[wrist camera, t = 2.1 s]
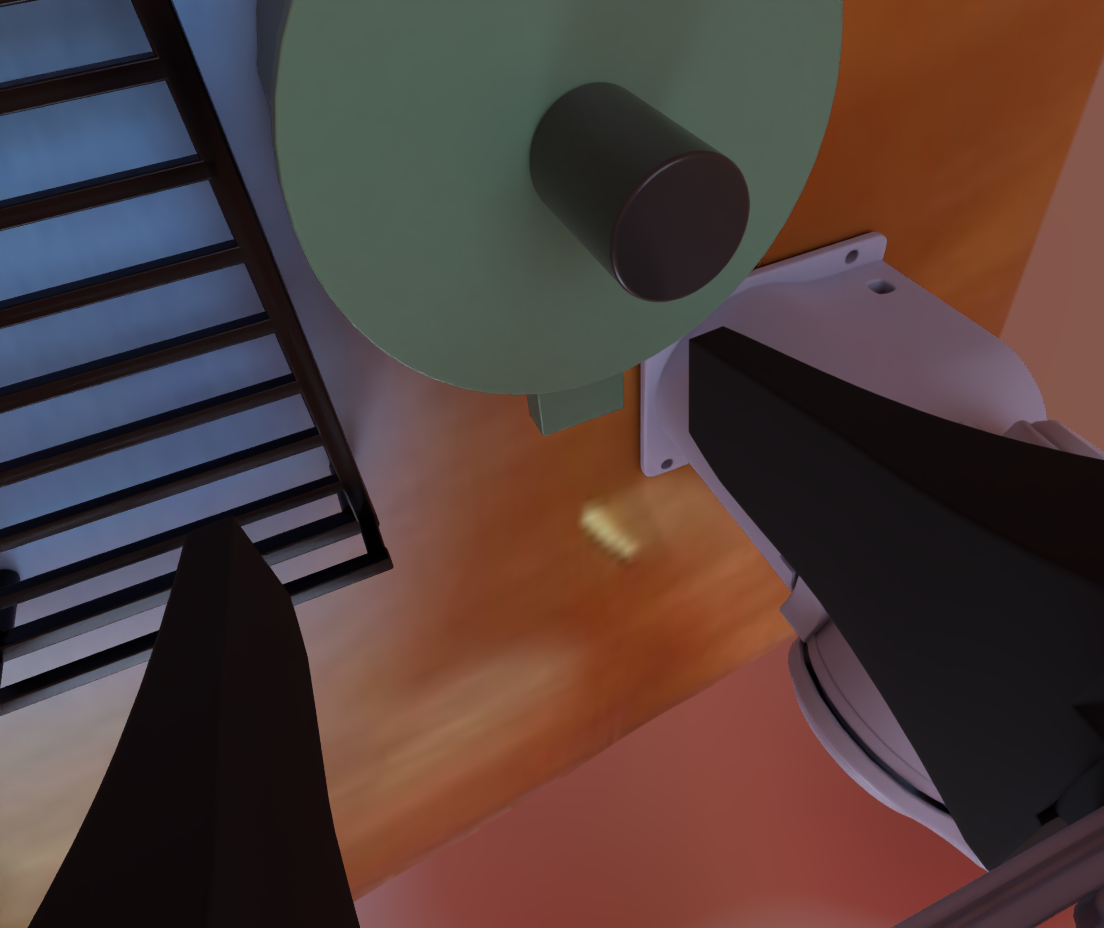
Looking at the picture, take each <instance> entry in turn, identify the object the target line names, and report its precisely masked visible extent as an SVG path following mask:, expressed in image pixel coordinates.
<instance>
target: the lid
mask: <svg viewBox="0 0 1104 928" xmlns="http://www.w3.org/2000/svg"><path fill="white" fill-rule="evenodd" d="M842 19H843V4H842V0H286V1H285V5H284V9H283V12H282V16H281V20H280V24H279V28H278V32H277V37H276V46H275V54H274V63H273V72H272V80H271V128H272V140H273V147H274V154H275V161H276V167H277V174H278V180H279V184H280V187H281V190H282V194H283V197H284V201H285V204H286V208H287V211H288V215H289V218H290V221H291V224H292V227H293V230H294V232H295V234H296V236H297V239H298V241H299V243H300V245H301V248H302V250H303V252H304V254H305V257H306V259H307V261H308V263H309V266H310V268H311V269H312V271H313V272H314V274H315V276H316V277H317V279H318V280H319V282H320V284H321V285H322V287H323V288H324V290H325V292H326V293H327V295H328V296H329V298H330V299H331V300H332V302H333V303H334V304H335V305H336V306H337V308H338V309H339V310H340V311H341V312H342V314H343V315H344V316H345V317H346V318H347V319H348V321H349V322H350V323H351V324H352V325H353V326H354V327H355V328H356V329H357V330H358V331H359V332H360V333H362V334H363V335H364V336H365V337H366V338H367V339H368V340H369V341H371V342H372V343H373V344H374V345H375V346H376V347H377V348H379V349H380V350H382V351H383V352H385V353H386V354H388V355H389V356H391V357H392V358H394V359H395V360H397V361H398V362H400V363H401V364H403V365H405V366H407V367H409V368H411V369H413V370H415V371H417V372H419V373H421V374H423V375H425V376H427V377H429V378H431V379H434V380H437V381H440V382H443V383H446V384H449V385H453V386H456V387H459V388H463V389H469V390H474V391H479V392H484V393H494V394H510V395H523V394H541V393H549V392H555V391H561V390H567V389H573V388H576V387H580V386H583V385H587V384H590V383H594V382H597V381H601V380H603V379H606V378H608V377H611V376H613V375H616V374H618V373H621V372H623V371H626V370H628V369H630V368H632V367H634V366H636V365H638V364H640V363H642V362H643V361H645V360H647V359H649V358H651V357H653V356H655V355H656V354H658V353H659V352H661V351H663V350H664V349H666V348H667V347H669V346H670V345H672V344H673V343H675V342H677V341H678V340H680V339H681V338H682V337H683V336H685V335H686V334H687V333H689V332H690V331H691V330H692V329H694V328H695V327H696V326H698V325H699V324H700V323H701V322H703V321H704V320H705V319H706V318H707V317H708V316H709V315H710V314H711V313H713V312H714V311H715V310H716V309H717V308H718V307H719V306H720V305H721V304H722V303H723V302H724V301H726V299H727V298H728V297H729V296H730V295H731V294H732V293H733V292H734V291H735V290H736V289H737V287H738V286H739V285H740V284H741V283H742V282H743V281H744V280H745V279H746V278H747V276H748V275H749V274H750V273H751V271H752V270H753V269H754V267H755V266H756V265H757V263H758V262H759V261H760V260H761V258H762V257H763V256H764V254H765V253H766V252H767V251H768V249H769V247H770V246H771V244H772V243H773V241H774V240H775V238H776V237H777V235H778V233H779V232H780V230H781V229H782V227H783V226H784V224H785V223H786V221H787V219H788V217H789V215H790V213H791V212H792V210H793V208H794V206H795V204H796V202H797V200H798V198H799V197H800V195H801V193H802V191H803V189H804V186H805V184H806V182H807V179H808V177H809V175H810V172H811V170H812V168H813V165H814V163H815V160H816V158H817V155H818V152H819V149H820V146H821V143H822V140H823V137H824V134H825V131H826V128H827V125H828V121H829V117H830V112H831V108H832V104H833V99H834V95H835V91H836V86H837V79H838V71H839V64H840V56H841V49H842Z"/></svg>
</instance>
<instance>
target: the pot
mask: <svg viewBox="0 0 1104 928" xmlns="http://www.w3.org/2000/svg"><path fill="white" fill-rule="evenodd" d="M285 1H286V0H257V8H256V15H257V47H258V50H257V67H258V73H259V76H260V79H261V82H262V85H263V88H264V91H265V93H266V96H267V99H268V102H269V105H270V109H271V80H272V72H273V63H274V54H275V46H276V37H277V32H278V28H279V24H280V20H281V16H282V12H283V9H284V5H285ZM527 399H528V406H529V413H530V416H531V417H532V419H533V421H534V422H535V424H536V425H537V427H538V429H539V430H540V432H541V434H542V435H543V436H546V435H548V434H551V433H554V432H557V431H560V430H563V429H565V428H568V427H571V426H574V425H577V424H580V423H582V422H585V421H588V420H591V419H594V418H597V417H599V416H602V415H605V414H608V413H611V412H614V411H617V410H619V409H622V408H624V385H623V372H621V373H618V374H616V375H613V376H611V377H608V378H606V379H603V380H601V381H597V382H594V383H590V384H587V385H583V386H580V387H576V388H573V389H567V390H561V391H555V392H549V393H541V394H527Z"/></svg>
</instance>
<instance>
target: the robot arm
mask: <svg viewBox="0 0 1104 928" xmlns="http://www.w3.org/2000/svg"><path fill="white" fill-rule="evenodd" d="M886 244H887V239H886V237H885V236H884V235H882V234H880V233H879V232H877V231H874V232H870V233H867V234H864V235H860V236H857V237H854V238H851V239H848V240H845V241H842V242H839V243H836V244H832V245H829V246H826V247H823V248H820V249H817V250H814V251H811V252H807V253H804V254H801V255H798V256H795V257H792V258H789V259H786V260H783V261H779V262H776V263H773V264H770V265H767V266H764V267H761V268H758V269H755V270H752V271H751V273H750V274H749V275H748V276H747V278H746V279H745V280H744V281H743V282H742V283H741V284H740V285H739V286H738V287H737V289H736V290H735V291H734V292H733V293H732V294H731V295H730V296H729V297H728V298H727V299H726V301H724V302H723V303H722V304H721V305H720V306H719V307H718V308H717V309H716V310H715V311H714V312H713V313H711V314H710V315H709V316H708V317H707V318H706V319H705V320H704V321H703V322H701V323H700V324H699V325H698V326H696V327H695V328H694V329H692V330H691V331H690V332H689V333H687V334H686V335H685V336H683V337H682V338H681V339H680V340H678V341H677V342H675V343H673V344H672V345H670V346H669V347H667V348H666V349H664V350H663V351H661V352H659V353H658V354H656V355H655V356H653V357H651V358H649V359H647V360H645V361H643V362H642V363H641V418H640V467H641V470H642V471H643V473H644V474H645V475H646V476H647V477H654V476H657V475H660V474H662V473H665V472H668V471H670V470H673V469H676V468H678V467H681V466H684V465H686V464H689V463H690V465H691V466H692V467H693V468H694V470H695V471H696V472H697V473H698V475H699V476H700V477H701V478H702V480H703V481H704V482H705V483H706V485H707V486H708V487H709V488H710V490H711V491H712V492H713V494H714V495H715V496H716V497H717V499H718V500H719V501H720V502H721V504H722V505H723V506H724V507H725V509H726V510H727V511H728V512H729V514H730V515H731V516H732V517H733V519H734V520H735V521H736V522H737V524H738V525H739V526H740V528H741V529H742V530H743V531H744V533H745V534H746V535H747V536H748V538H749V539H750V540H751V541H752V543H753V544H754V545H755V546H756V548H757V549H758V550H759V551H760V553H761V554H762V555H763V556H764V558H765V559H766V560H767V562H768V563H769V564H770V565H771V567H772V568H773V569H774V570H775V572H776V573H777V574H778V575H779V577H780V578H781V579H782V580H783V582H784V583H785V584H786V585H787V587H788V588H789V589H790V590H791V592H792V593H791V595H790V596H789V597H788V599H787V600H786V601H785V602H784V603H783V605H782V606H781V607H780V610H779V611H780V612H781V613H782V615H783V616H784V617H785V619H786V620H787V621H788V623H789V624H790V625H791V627H792V628H793V629H794V631H795V632H796V633H797V634H798V636H799V637H798V638H797V639H796V640H795V641H794V642H793V643H792V645H791V647H790V650H789V654H788V664H789V670H790V675H791V679H792V682H793V686H794V691H795V695H796V698H797V701H798V704H799V706H800V708H801V711H802V713H803V715H804V717H805V718H806V720H807V722H808V724H809V725H810V727H811V729H812V730H813V732H814V734H815V735H816V736H817V738H818V739H819V741H820V742H821V743H822V745H823V746H824V748H825V749H826V750H827V751H828V753H829V754H830V755H831V756H832V757H833V758H834V760H835V761H836V762H837V763H838V764H839V765H840V766H841V768H842V769H843V770H844V771H845V772H846V773H847V774H848V775H849V776H850V777H851V778H852V779H853V780H855V781H856V782H857V783H858V784H859V785H860V786H861V787H862V788H864V789H865V790H866V791H867V792H868V793H870V794H871V795H872V796H873V797H875V798H876V799H877V800H879V801H880V802H882V803H883V804H885V805H886V806H888V807H890V808H891V809H893V810H895V811H897V812H899V813H901V814H903V815H905V816H908V817H910V818H912V819H914V820H916V821H918V822H919V823H921V824H923V825H925V826H926V827H928V828H929V829H931V830H932V831H934V832H935V833H937V834H938V835H940V836H941V837H943V838H944V839H945V840H947V841H948V842H949V843H951V844H952V845H953V846H955V847H956V848H957V849H959V850H960V851H961V852H962V853H964V854H965V855H966V856H967V857H968V858H970V859H971V860H972V861H973V862H974V863H976V864H977V865H978V866H980V867H981V868H984V869H985V870H986V871H987V872H988V873H986V874H984V875H982V876H981V877H979V878H977V879H975V880H974V881H972V882H970V883H968V884H967V885H965V886H963V887H961V888H960V889H958V890H956V891H954V892H953V893H951V894H949V895H947V896H946V897H944V898H942V899H941V900H939V901H937V902H935V903H934V904H932V905H930V906H929V907H927V908H925V909H923V910H921V911H920V912H918V913H916V914H914V915H913V916H911V917H909V918H907V919H906V920H904V921H902V922H900V923H899V924H897V925H895V926H893V927H892V928H1035V927H1037V926H1039V925H1040V924H1042V923H1044V922H1045V921H1047V920H1049V919H1050V918H1052V917H1054V916H1055V915H1057V914H1058V913H1060V912H1062V911H1063V910H1065V909H1067V908H1068V907H1070V906H1072V905H1074V904H1075V903H1077V902H1078V903H1077V905H1075V908H1074V915H1073V916H1074V921H1075V924H1076V928H1104V452H1103V451H1102V450H1100V449H1099V448H1097V447H1096V446H1094V445H1093V444H1091V443H1090V442H1088V441H1087V440H1086V439H1084V438H1083V437H1081V436H1080V435H1078V434H1076V433H1075V432H1074V431H1072V430H1070V429H1069V428H1068V427H1066V426H1064V425H1063V424H1061V423H1060V422H1058V421H1056V420H1048V421H1047V416H1046V410H1045V404H1044V401H1043V398H1042V395H1041V393H1040V390H1039V388H1038V386H1037V384H1036V382H1035V380H1034V378H1033V376H1032V375H1031V373H1030V371H1029V370H1028V368H1027V367H1026V365H1025V364H1024V363H1023V362H1022V360H1021V359H1020V358H1019V356H1018V355H1017V354H1016V353H1015V352H1014V351H1013V350H1012V349H1011V348H1010V347H1009V346H1007V345H1006V344H1005V343H1004V342H1002V341H1001V340H1000V339H998V338H997V337H996V336H994V335H993V334H991V333H990V332H988V331H987V330H985V329H984V328H982V327H981V326H979V325H978V324H976V323H975V322H973V321H972V320H970V319H969V318H967V317H966V316H964V315H963V314H961V313H960V312H958V311H957V310H955V309H954V308H952V307H951V306H949V305H948V304H947V303H945V302H944V301H942V300H941V299H939V298H938V297H936V296H935V295H933V294H932V293H930V292H929V291H927V290H926V289H924V288H923V287H921V286H920V285H918V284H917V283H915V282H914V281H912V280H911V279H909V278H908V277H906V276H905V275H903V274H902V273H900V272H899V271H897V270H896V269H894V268H893V267H891V266H890V265H888V264H887V263H885V262H884V261H882V260H883V256H884V252H885V248H886ZM28 928H360V925H359V922H358V918H357V915H356V911H355V907H354V903H353V900H352V896H351V892H350V888H349V884H348V881H347V877H346V873H345V869H344V865H343V861H342V857H341V853H340V849H339V845H338V841H337V837H336V833H335V829H334V824H333V819H332V814H331V809H330V803H329V798H328V791H327V784H326V777H325V770H324V764H323V757H322V750H321V743H320V736H319V729H318V722H317V715H316V708H315V702H314V695H313V688H312V682H311V675H310V669H309V662H308V656H307V653H306V649H305V645H304V642H303V638H302V634H301V631H300V627H299V624H298V620H297V617H296V613H295V610H294V607H293V603H292V600H291V596H290V594H289V593H288V592H287V590H286V589H285V587H284V586H283V585H282V583H281V582H280V581H279V579H278V578H277V576H276V575H275V574H274V572H273V571H272V569H271V568H270V567H269V565H268V564H267V562H266V561H265V560H264V558H263V557H262V556H261V554H260V553H259V551H258V550H257V549H256V547H255V546H254V544H253V543H252V542H251V540H250V539H249V537H248V536H247V535H246V533H245V532H244V531H243V529H242V528H241V526H240V525H239V524H238V522H237V521H236V519H235V518H234V517H233V515H231V516H229V517H226V518H224V519H221V520H218V521H216V522H213V523H211V524H208V525H205V526H203V527H200V528H198V529H195V530H192V531H190V532H189V533H188V535H187V537H186V539H185V541H184V545H183V548H182V552H181V556H180V560H179V563H178V567H177V571H176V574H175V578H174V582H173V585H172V589H171V592H170V596H169V599H168V602H167V606H166V609H165V612H164V616H163V619H162V623H161V626H160V629H159V632H158V635H157V638H156V641H155V644H154V647H153V650H152V653H151V656H150V659H149V662H148V665H147V668H146V671H145V674H144V677H143V680H142V683H141V686H140V689H139V691H138V694H137V696H136V699H135V702H134V704H133V707H132V709H131V712H130V715H129V717H128V720H127V722H126V725H125V727H124V730H123V733H122V735H121V738H120V740H119V743H118V745H117V748H116V750H115V753H114V755H113V758H112V760H111V762H110V765H109V767H108V769H107V771H106V774H105V776H104V778H103V781H102V783H101V785H100V787H99V790H98V792H97V794H96V796H95V798H94V800H93V803H92V805H91V807H90V809H89V811H88V813H87V815H86V817H85V819H84V821H83V824H82V826H81V828H80V830H79V832H78V834H77V836H76V838H75V840H74V842H73V844H72V846H71V848H70V850H69V852H68V853H67V855H66V857H65V859H64V861H63V863H62V865H61V867H60V869H59V871H58V872H57V874H56V876H55V878H54V880H53V882H52V884H51V886H50V888H49V890H48V891H47V893H46V895H45V897H44V899H43V901H42V903H41V905H40V906H39V908H38V910H37V912H36V914H35V915H34V917H33V919H32V921H31V922H30V924H29V926H28Z"/></svg>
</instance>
